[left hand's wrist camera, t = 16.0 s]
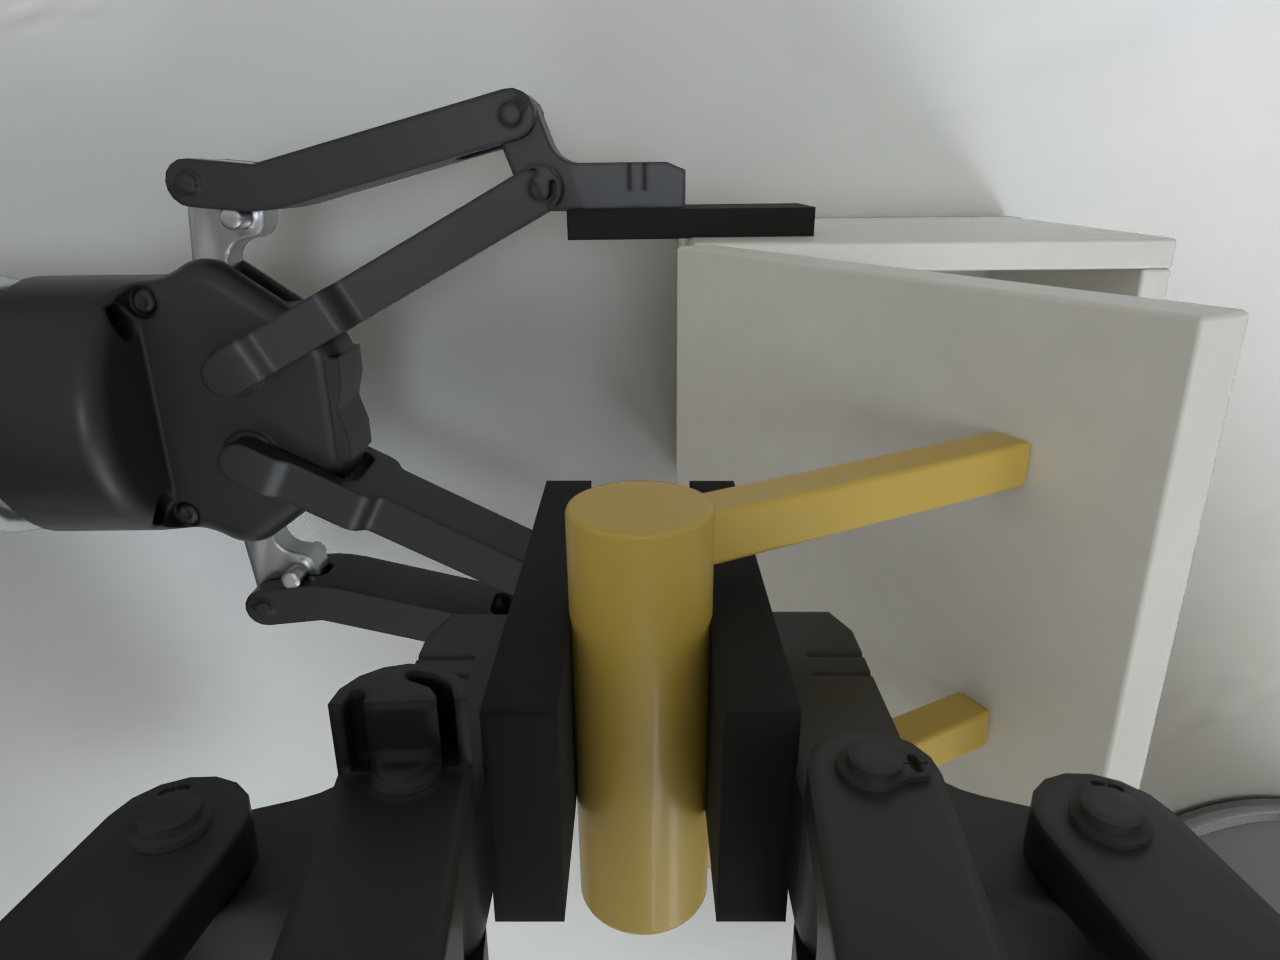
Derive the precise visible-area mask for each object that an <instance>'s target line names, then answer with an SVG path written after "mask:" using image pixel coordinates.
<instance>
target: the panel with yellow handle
mask: <svg viewBox="0 0 1280 960" xmlns="http://www.w3.org/2000/svg"><path fill="white" fill-rule="evenodd" d="M1247 321H1248V312H1246V311H1244V310H1242V309H1234V308H1226V307H1218V306H1209V305H1201V304H1193V303H1185V302H1177V301H1169V300H1160V299H1152V298H1144V297H1136V296H1128V295H1119V294H1111V293H1103V292H1095V291H1087V290H1079V289H1070V288H1062V287H1054V286H1046V285H1038V284H1029V283H1021V282H1013V281H1005V280H997V279H988V278H980V277H972V276H964V275H956V274H948V273H939V272H931V271H923V270H915V269H907V268H898V267H890V266H882V265H874V264H866V263H857V262H849V261H841V260H833V259H825V258H817V257H808V256H800V255H792V254H784V253H776V252H767V251H759V250H751V249H743V248H735V247H727V246H718V245H694V246H680V247H679V248H678V250H677V452H676V484H673V483H667V482H659V481H624V482H616V483H610V484H605V485H601V486H597V487H593V488H590V489H588V490H585V491H583V492H581V493H579V494H577V495H576V496H574V497H573V498H572V499H571V500H570V501H569V502H568V504H567V507H566V509H565V528H566V551H567V574H568V597H569V615H570V627H571V653H572V680H573V706H574V732H575V757H576V780H577V803H578V825H579V848H580V871H581V889H582V894H583V897H584V900H585V902H586V904H587V906H588V907H589V909H590V910H591V911H592V913H593V914H594V915H595V916H596V917H597V918H598V919H599V920H601V921H602V922H603V923H605V924H606V925H608V926H610V927H612V928H614V929H616V930H619V931H622V932H626V933H631V934H640V935H647V934H657V933H662V932H665V931H669V930H671V929H674V928H676V927H678V926H680V925H681V924H683V923H684V922H686V921H687V920H689V919H690V918H691V917H692V916H693V915H694V914H695V912H696V911H697V910H698V909H699V907H700V905H701V904H702V902H703V900H704V897H705V894H706V889H707V868H709V867H711V862H710V852H709V842H708V832H707V822H706V812H705V805H706V771H707V736H708V702H709V667H710V633H711V618H712V615H713V568H714V565H716V564H720V563H724V562H727V561H731V560H735V559H739V558H743V557H747V556H751V555H756V558H757V562H758V565H759V568H760V572H761V575H762V579H763V582H764V585H765V589H766V592H767V596H768V599H769V602H770V606H771V609H772V612H830V613H831V614H832V615H833V616H834V617H836V618H837V619H838V620H839V621H841V622H842V623H843V624H844V625H846V626H847V627H848V628H849V629H851V630H852V632H853V634H854V636H855V638H856V640H857V643H858V645H859V647H860V649H861V651H862V657H864V658H865V660H866V663H867V665H868V667H869V669H870V674H871V676H873V678H874V680H875V682H876V685H877V687H878V689H879V691H880V693H881V696H882V698H883V700H884V702H885V704H886V707H887V709H888V711H889V713H890V715H891V718H892V720H893V722H894V724H895V726H896V729H897V731H898V733H899V735H900V738H901V739H903V740H906V741H908V742H911V743H913V744H914V745H915V746H917V747H918V748H919V749H921V750H922V751H923V752H925V753H926V754H927V755H929V756H930V757H931V758H932V760H933V761H934V763H935V764H936V766H937V767H938V769H939V770H940V772H941V773H942V776H943V778H944V781H945V783H948V784H950V785H952V786H954V787H956V788H959V789H961V790H964V791H968V792H971V793H974V794H978V795H981V796H985V797H990V798H994V799H999V800H1003V801H1008V802H1012V803H1017V804H1021V805H1026V806H1030V804H1031V799H1032V794H1033V791H1034V790H1035V789H1036V788H1037V787H1038V786H1039V785H1040V784H1041V782H1042V781H1043V780H1044V779H1047V778H1050V777H1054V776H1057V775H1060V774H1064V773H1080V774H1094V775H1098V776H1102V777H1106V778H1110V779H1114V780H1118V781H1121V782H1124V783H1126V784H1128V785H1130V786H1132V787H1134V788H1136V789H1139V788H1140V784H1141V779H1142V775H1143V771H1144V766H1145V762H1146V758H1147V753H1148V749H1149V745H1150V740H1151V736H1152V732H1153V727H1154V723H1155V719H1156V714H1157V710H1158V706H1159V701H1160V697H1161V693H1162V688H1163V684H1164V680H1165V675H1166V671H1167V667H1168V662H1169V658H1170V654H1171V650H1172V645H1173V641H1174V637H1175V632H1176V628H1177V624H1178V619H1179V615H1180V611H1181V606H1182V602H1183V598H1184V593H1185V589H1186V585H1187V580H1188V576H1189V572H1190V567H1191V563H1192V559H1193V554H1194V550H1195V546H1196V541H1197V537H1198V533H1199V528H1200V524H1201V520H1202V515H1203V511H1204V507H1205V502H1206V498H1207V494H1208V489H1209V485H1210V481H1211V477H1212V472H1213V468H1214V464H1215V459H1216V455H1217V451H1218V446H1219V442H1220V438H1221V433H1222V429H1223V425H1224V420H1225V416H1226V412H1227V407H1228V403H1229V399H1230V394H1231V390H1232V386H1233V381H1234V377H1235V373H1236V368H1237V364H1238V360H1239V355H1240V351H1241V347H1242V342H1243V338H1244V334H1245V329H1246V325H1247ZM689 481H734V483H735V487H730V488H725V489H720V490H716V491H711V492H706V493H701V492H699V491H697V490H695V489H692V488H689Z"/></svg>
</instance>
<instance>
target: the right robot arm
mask: <svg viewBox="0 0 1280 960" xmlns="http://www.w3.org/2000/svg"><path fill="white" fill-rule="evenodd" d="M501 149H503V150H504V153H505V155H506V158H507V160H508V163H509V165H510V167H511V170H512V172H513V175H514V176H512V177H510V178H509V179H507V180H505V181H504V182H502V183H500V184H499V185H497V186H495V187H494V188H492V189H490V190H489V191H487V192H485V193H484V194H482V195H480V196H479V197H477V198H475V199H474V200H472V201H470V202H469V203H467V204H465V205H464V206H462V207H460V208H459V209H457V210H455V211H454V212H452V213H450V214H449V215H447V216H445V217H444V218H442V219H440V220H439V221H437V222H435V223H434V224H432V225H430V226H429V227H427V228H425V229H424V230H422V231H421V232H419V233H417V234H416V235H414V236H412V237H411V238H409V239H407V240H406V241H404V242H402V243H401V244H399V245H397V246H396V247H394V248H392V249H391V250H389V251H387V252H386V253H384V254H382V255H381V256H379V257H377V258H376V259H374V260H372V261H371V262H369V263H367V264H366V265H364V266H362V267H361V268H359V269H357V270H356V271H354V272H352V273H351V274H349V275H347V276H346V277H344V278H342V279H341V280H339V281H337V282H336V283H334V284H332V285H330V286H328V287H326V288H324V289H322V290H321V291H319V292H317V293H315V294H314V295H312V296H310V297H308V298H307V299H305V300H304V299H303V298H301V297H299V296H298V295H296V294H295V293H293V292H292V291H290V290H289V289H287V288H286V287H284V286H283V285H281V284H280V283H278V282H276V281H275V280H273V279H272V278H270V277H269V276H267V275H266V274H264V273H263V272H261V271H260V270H258V269H257V268H255V267H254V266H252V265H250V264H249V263H247V262H246V261H244V260H242V256H243V250H244V248H245V246H246V244H247V243H248V242H249V241H251V240H253V239H254V238H259V237H264V236H267V235H269V234H271V233H272V232H273V230H274V229H275V227H276V225H277V219H278V215H277V209H285V208H293V207H302V206H308V205H312V204H317V203H321V202H324V201H328V200H331V199H334V198H338V197H341V196H345V195H348V194H352V193H355V192H358V191H362V190H365V189H369V188H372V187H375V186H379V185H382V184H386V183H389V182H392V181H396V180H399V179H403V178H406V177H409V176H413V175H416V174H420V173H423V172H426V171H430V170H433V169H437V168H440V167H443V166H447V165H450V164H454V163H457V162H461V161H464V160H467V159H471V158H474V157H478V156H481V155H484V154H488V153H491V152H495V151H498V150H501ZM165 182H166V185H167V189H168V191H169V193H170V194H171V195H172V197H173V198H174V199H175V200H176V201H178V202H179V203H180V204H182V205H185V206H188V214H189V225H190V236H191V247H192V258H193V261H190V262H188V263H186V264H184V265H183V266H181V267H180V268H178V269H177V270H175V271H174V272H172V273H170V274H164V275H88V276H37V277H31V278H27V279H23V280H21V281H20V280H16V279H12V278H8V277H4V276H0V532H24V531H32V530H37V529H40V528H44V529H49V530H54V531H100V530H165V529H177V528H187V527H205V528H210V529H213V530H217V531H219V532H222V533H224V534H226V535H228V536H231V537H233V538H235V539H238V540H242V541H244V542H245V545H246V548H247V552H248V555H249V559H250V562H251V566H252V569H253V573H254V576H255V579H256V583H257V588H256V589H255V590H254V591H253V592H252V593H251V594H250V596H249V597H248V599H247V601H246V611H247V612H248V614H249V616H250V617H251V618H252V619H253V620H254V621H256V622H258V623H260V624H264V625H275V624H285V623H295V622H306V621H316V620H325V621H330V622H335V623H340V624H344V625H349V626H354V627H359V628H363V629H368V630H373V631H378V632H382V633H387V634H392V635H397V636H401V637H406V638H411V639H416V640H420V641H426V639H427V636H428V634H429V633H430V632H431V631H433V630H434V629H435V628H436V627H437V626H439V625H440V624H441V623H442V622H444V621H445V620H446V619H447V618H448V617H450V616H451V615H452V614H508V612H509V608H510V605H511V601H512V598H513V595H514V591H515V588H516V584H517V581H518V577H519V574H520V571H521V567H522V564H523V560H524V557H525V554H526V550H527V547H528V543H529V540H530V537H531V533H532V530H531V529H529V528H526V527H524V526H522V525H520V524H518V523H516V522H514V521H512V520H509V519H507V518H505V517H503V516H501V515H499V514H497V513H494V512H492V511H490V510H488V509H486V508H484V507H482V506H480V505H477V504H475V503H473V502H471V501H469V500H467V499H465V498H462V497H460V496H458V495H456V494H454V493H452V492H450V491H448V490H445V489H443V488H441V487H439V486H437V485H435V484H433V483H430V482H428V481H426V480H424V479H422V478H420V477H418V476H416V475H413V474H411V473H409V472H407V471H405V470H404V469H403V468H402V467H401V466H400V464H399V462H397V461H396V460H395V459H393V458H392V457H390V456H388V455H386V454H383V453H381V452H379V451H377V450H375V449H373V448H371V447H369V446H367V445H368V444H369V443H370V442H371V433H370V425H369V418H368V415H367V413H366V410H365V408H364V405H363V403H362V400H361V398H360V395H359V389H360V382H361V375H362V369H363V368H362V360H361V352H360V344H353V343H352V341H351V339H350V337H349V335H348V334H347V332H346V331H348V330H350V329H351V328H353V327H355V326H356V325H358V324H360V323H361V322H363V321H365V320H367V319H368V318H370V317H372V316H373V315H375V314H377V313H378V312H380V311H382V310H383V309H385V308H387V307H388V306H390V305H392V304H393V303H395V302H397V301H399V300H400V299H402V298H404V297H405V296H407V295H409V294H410V293H412V292H414V291H416V290H417V289H419V288H421V287H422V286H424V285H426V284H427V283H429V282H431V281H433V280H434V279H436V278H438V277H439V276H441V275H443V274H444V273H446V272H448V271H450V270H451V269H453V268H455V267H456V266H458V265H460V264H461V263H463V262H465V261H467V260H468V259H470V258H472V257H473V256H475V255H477V254H478V253H480V252H482V251H484V250H485V249H487V248H489V247H490V246H492V245H494V244H495V243H497V242H499V241H501V240H502V239H504V238H506V237H507V236H509V235H511V234H512V233H514V232H516V231H517V230H519V229H521V228H523V227H524V226H526V225H528V224H529V223H531V222H533V221H534V220H536V219H538V218H540V217H541V216H543V215H545V214H546V213H548V212H550V211H567V229H568V240H608V239H691V238H703V237H794V236H814V224H815V207H812V206H807V205H803V204H798V203H783V204H700V205H685V170H684V169H682V168H680V167H677V166H675V165H672V164H670V163H668V162H628V163H575V162H572V161H570V160H568V159H566V158H565V157H563V156H562V155H561V154H560V152H559V151H558V150H557V148H556V146H555V144H554V142H553V139H552V137H551V134H550V131H549V129H548V126H547V124H546V121H545V118H544V112H543V110H542V108H541V106H540V104H538V103H537V102H536V101H535V100H534V99H533V98H531V97H530V96H528V95H527V94H525V93H524V92H522V91H520V90H517V89H514V88H508V89H501V90H498V91H495V92H492V93H488V94H485V95H482V96H478V97H475V98H472V99H468V100H465V101H462V102H458V103H455V104H452V105H448V106H445V107H442V108H438V109H435V110H432V111H428V112H425V113H422V114H418V115H415V116H412V117H408V118H405V119H402V120H398V121H395V122H392V123H388V124H385V125H382V126H378V127H375V128H372V129H368V130H365V131H362V132H358V133H355V134H352V135H348V136H345V137H342V138H338V139H335V140H332V141H328V142H325V143H322V144H318V145H315V146H312V147H308V148H305V149H302V150H298V151H295V152H292V153H288V154H285V155H282V156H278V157H275V158H272V159H268V160H265V161H262V162H251V161H240V160H229V159H178V160H176V161H175V162H173V163H172V164H170V166H169V168H168V169H167V171H166V179H165ZM305 511H307V512H309V513H311V514H314V515H316V516H318V517H320V518H322V519H325V520H327V521H329V522H331V523H333V524H336V525H338V526H340V527H342V528H345V529H348V530H353V531H358V530H368V531H371V532H373V533H376V534H378V535H380V536H382V537H384V538H387V539H389V540H391V541H393V542H395V543H398V544H400V545H402V546H404V547H406V548H409V549H411V550H413V551H415V552H417V553H420V554H422V555H424V556H426V557H428V558H431V559H433V560H435V561H437V562H440V563H442V564H444V565H446V566H448V567H451V568H453V569H455V570H457V571H459V572H462V573H464V574H466V575H468V576H470V577H473V578H475V579H477V580H479V581H477V580H472V579H467V578H463V577H458V576H454V575H449V574H445V573H440V572H435V571H431V570H426V569H422V568H417V567H412V566H408V565H403V564H399V563H394V562H389V561H385V560H380V559H376V558H371V557H366V556H360V555H354V554H341V553H334V554H327V553H326V547H325V545H323V544H322V543H321V542H318V541H317V542H306V541H301V540H299V539H296V538H295V537H294V536H292V535H291V533H290V532H289V531H288V529H287V525H288V524H289V523H291V522H292V521H293V520H295V519H296V518H297V517H299V516H300V515H301V514H303V513H304V512H305Z"/></svg>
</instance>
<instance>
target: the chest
mask: <svg viewBox="0 0 1280 960" xmlns="http://www.w3.org/2000/svg"><path fill="white" fill-rule="evenodd" d="M694 245H718V246H727V247H735V248H743V249H751V250H759V251H767V252H776V253H784V254H792V255H800V256H808V257H817V258H825V259H833V260H841V261H849V262H857V263H866V264H874V265H882V266H890V267H898V268H907V269H915V270H923V271H931V272H939V273H948V274H956V275H964V276H972V277H980V278H988V279H997V280H1005V281H1013V282H1021V283H1029V284H1038V285H1046V286H1054V287H1062V288H1070V289H1079V290H1087V291H1095V292H1103V293H1111V294H1119V295H1128V296H1136V297H1144V298H1152V299H1160V300H1165V296H1166V291H1167V286H1168V281H1169V276H1170V270H1169V269H1167V268H1170V267H1171V265H1172V261H1173V256H1174V250H1175V245H1176V240H1175V239H1173V238H1167V237H1159V236H1152V235H1144V234H1136V233H1129V232H1121V231H1113V230H1106V229H1098V228H1090V227H1082V226H1075V225H1067V224H1059V223H1052V222H1044V221H1036V220H1028V219H1021V218H1018V217H1010V216H988V217H892V218H815V224H814V236H794V237H703V238H691V239H679V247H680V246H694Z"/></svg>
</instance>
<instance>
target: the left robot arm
mask: <svg viewBox="0 0 1280 960" xmlns="http://www.w3.org/2000/svg"><path fill="white" fill-rule="evenodd" d="M730 487H735V483H734V481H689V488H692V489H695V490H697V491H699V492H701V493H706V492H711V491H716V490H720V489H725V488H730ZM590 488H591V481H547V482H546V485H545V489H544V492H543V496H542V499H541V502H540V506H539V509H538V513H537V516H536V519H535V523H534V526H533V530H532V533H531V537H530V540H529V543H528V547H527V550H526V554H525V557H524V560H523V564H522V567H521V571H520V574H519V577H518V581H517V584H516V588H515V591H514V595H513V598H512V601H511V605H510V608H509V612H508V614H452V615H451V616H450V617H448V618H447V619H446V620H445V621H444V622H442V623H441V624H440V625H439V626H437V627H436V628H435V629H434V630H433V631H431V632H430V633H429V634H428V636H427V639H426V641H425V643H424V645H423V648H422V650H421V652H420V654H419V660H417V661H416V663H415V664H404V665H397V666H391V667H384V668H381V669H378V670H375V671H373V672H370V673H367V674H364V675H361V676H359V677H357V678H356V679H354V680H353V681H351V682H350V683H348V684H347V685H345V686H344V687H342V688H341V689H339V690H338V692H337V693H336V694H335V696H334V697H333V698H332V700H331V701H330V702H329V704H328V709H329V716H330V723H331V729H332V736H333V743H334V749H335V756H336V763H337V769H338V777H337V780H336V782H335V785H334V787H332V788H330V789H328V790H326V791H324V792H321V793H318V794H315V795H312V796H308V797H305V798H302V799H298V800H293V801H289V802H285V803H280V804H276V805H271V806H267V807H262V808H258V809H253V810H251V805H250V800H249V795H248V794H247V793H246V792H245V791H244V790H243V789H242V788H241V787H240V785H239V784H238V783H236V782H233V781H229V780H226V779H223V778H219V777H190V778H186V779H182V780H178V781H174V782H170V783H166V784H162V785H159V786H157V787H155V788H153V789H151V790H149V791H147V792H145V793H142V794H140V795H138V796H136V797H134V798H132V799H131V800H129V801H128V802H127V803H125V804H124V805H123V806H121V807H120V808H119V809H117V810H116V811H115V812H113V813H112V814H111V815H109V816H108V817H107V818H106V819H105V820H104V821H103V822H102V823H101V824H100V825H99V826H98V827H97V828H96V829H95V830H94V831H93V832H92V833H91V834H90V835H89V836H88V837H87V838H85V839H84V840H83V841H82V842H81V843H80V844H79V845H78V846H77V847H76V848H75V849H74V850H73V851H72V852H71V853H70V854H69V855H68V856H67V857H66V858H65V859H64V860H63V861H62V862H61V863H60V864H59V865H58V866H57V867H56V868H55V869H53V870H52V871H51V872H50V873H49V874H48V875H47V876H46V877H45V878H44V879H43V880H42V881H41V882H40V883H39V884H38V885H37V886H36V887H35V888H34V889H33V890H32V891H31V892H30V893H29V894H28V895H27V896H26V897H25V898H24V899H23V900H22V901H20V902H19V903H18V904H17V905H16V906H15V907H14V908H13V909H12V910H11V911H10V912H9V913H8V914H7V915H6V916H5V917H4V918H3V919H2V920H1V921H0V960H489V959H488V947H487V934H486V923H487V918H488V913H489V908H490V903H491V898H492V893H493V898H494V911H495V922H498V921H564V919H565V909H566V899H567V889H568V879H569V869H570V859H571V849H572V839H573V829H574V819H575V809H576V799H577V780H576V757H575V732H574V706H573V680H572V653H571V627H570V615H569V597H568V574H567V551H566V528H565V509H566V507H567V504H568V502H569V501H570V500H571V499H572V498H573V497H574V496H576V495H577V494H579V493H581V492H583V491H585V490H588V489H590ZM705 812H706V822H707V832H708V842H709V852H710V862H711V872H712V882H713V892H714V902H715V912H716V921H785V920H786V907H787V895H788V890H789V895H790V900H791V905H792V910H793V915H794V920H795V922H794V934H793V947H792V959H791V960H1280V799H1265V798H1262V799H1244V800H1236V801H1229V802H1224V803H1219V804H1214V805H1210V806H1206V807H1203V808H1199V809H1196V810H1193V811H1190V812H1187V813H1184V814H1182V815H1179V816H1177V815H1176V814H1174V813H1173V812H1172V811H1171V810H1169V809H1168V808H1167V807H1165V806H1164V805H1163V804H1161V803H1160V802H1159V801H1157V800H1156V799H1155V798H1153V797H1152V796H1151V795H1149V794H1147V793H1145V792H1143V791H1141V790H1139V789H1136V788H1134V787H1132V786H1130V785H1128V784H1126V783H1124V782H1121V781H1118V780H1114V779H1110V778H1106V777H1102V776H1098V775H1094V774H1080V773H1064V774H1060V775H1057V776H1054V777H1050V778H1047V779H1044V780H1043V781H1042V782H1041V784H1040V785H1039V786H1038V787H1037V788H1036V789H1035V790H1034V791H1033V794H1032V799H1031V804H1030V806H1026V805H1021V804H1017V803H1012V802H1008V801H1003V800H999V799H994V798H990V797H985V796H981V795H978V794H974V793H971V792H968V791H964V790H961V789H959V788H956V787H954V786H952V785H950V784H948V783H945V781H944V778H943V776H942V773H941V772H940V770H939V769H938V767H937V766H936V764H935V763H934V761H933V760H932V758H931V757H930V756H929V755H927V754H926V753H925V752H923V751H922V750H921V749H919V748H918V747H917V746H915V745H914V744H913V743H911V742H908V741H906V740H903V739H901V738H900V735H899V733H898V731H897V729H896V726H895V724H894V722H893V720H892V718H891V715H890V713H889V711H888V709H887V707H886V704H885V702H884V700H883V698H882V696H881V693H880V691H879V689H878V687H877V685H876V682H875V680H874V678H873V676H871V674H870V669H869V667H868V665H867V663H866V660H865V658H864V657H862V651H861V649H860V647H859V645H858V643H857V640H856V638H855V636H854V634H853V632H852V630H851V629H849V628H848V627H847V626H846V625H844V624H843V623H842V622H841V621H839V620H838V619H837V618H836V617H834V616H833V615H832V614H831V613H830V612H772V609H771V606H770V602H769V599H768V596H767V592H766V589H765V585H764V582H763V579H762V575H761V572H760V568H759V565H758V562H757V558H756V555H751V556H747V557H743V558H739V559H735V560H731V561H727V562H724V563H720V564H716V565H714V568H713V615H712V618H711V633H710V667H709V702H708V736H707V771H706V805H705Z"/></svg>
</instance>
